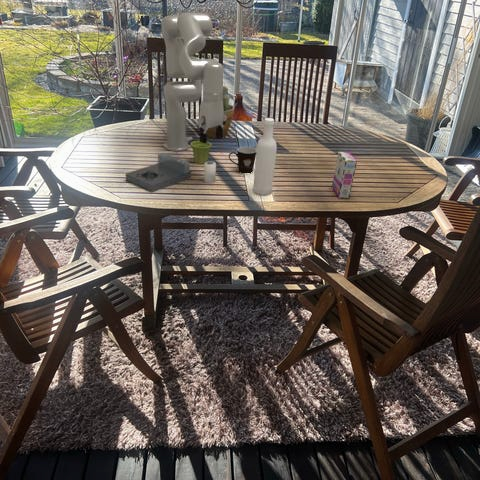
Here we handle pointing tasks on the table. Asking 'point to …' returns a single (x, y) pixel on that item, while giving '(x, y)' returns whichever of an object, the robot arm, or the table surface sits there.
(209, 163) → the bushing
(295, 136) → the table surface
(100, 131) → the table surface
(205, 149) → the plant pot
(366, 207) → the table surface
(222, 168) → the table surface
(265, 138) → the bottle
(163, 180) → the jig
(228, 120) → the potted plant
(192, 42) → the robot arm
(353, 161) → the candy bar box
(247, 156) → the coffee mug
